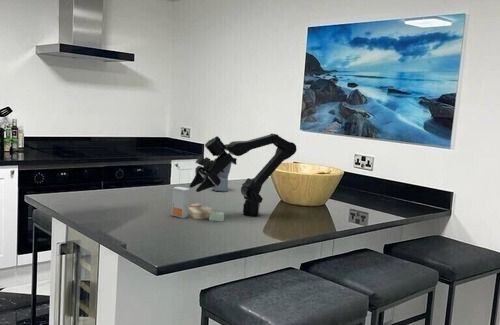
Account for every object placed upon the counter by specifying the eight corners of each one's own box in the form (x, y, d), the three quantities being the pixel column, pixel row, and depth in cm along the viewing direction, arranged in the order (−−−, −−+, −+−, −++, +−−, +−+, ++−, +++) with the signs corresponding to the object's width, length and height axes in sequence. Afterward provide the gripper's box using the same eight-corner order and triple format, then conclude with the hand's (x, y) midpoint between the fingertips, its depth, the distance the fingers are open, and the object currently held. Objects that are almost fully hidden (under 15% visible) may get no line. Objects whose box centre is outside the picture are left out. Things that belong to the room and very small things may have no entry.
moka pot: (234, 190, 274) (237, 155, 272) (218, 193, 261) (221, 156, 259) (220, 187, 279) (223, 153, 277) (204, 190, 266) (207, 154, 264)
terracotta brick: (195, 209, 220) (195, 203, 220) (201, 210, 219) (201, 204, 219) (189, 212, 215) (189, 205, 214) (195, 213, 214) (195, 206, 213)
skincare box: (170, 215, 205) (172, 187, 204) (176, 213, 209) (178, 186, 208) (182, 218, 203) (184, 189, 201) (188, 216, 206) (190, 188, 205)
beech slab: (208, 212, 216) (209, 207, 216) (216, 218, 207) (216, 212, 207) (186, 212, 212) (187, 207, 212) (193, 218, 203) (194, 212, 203)
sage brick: (222, 219, 207) (223, 212, 207) (223, 221, 204) (224, 214, 204) (208, 219, 206) (208, 212, 205) (209, 220, 203) (209, 213, 202)
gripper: (201, 147, 215) (175, 171, 212) (215, 153, 198) (187, 179, 195) (216, 165, 219) (191, 189, 216) (232, 172, 202) (204, 198, 199)
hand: (193, 189), depth 206 cm, fingers open, 9 cm apart
